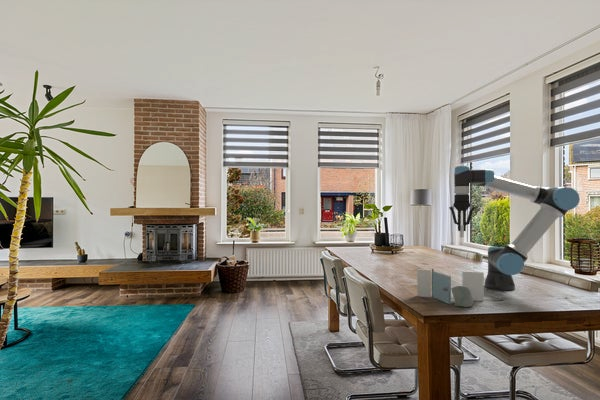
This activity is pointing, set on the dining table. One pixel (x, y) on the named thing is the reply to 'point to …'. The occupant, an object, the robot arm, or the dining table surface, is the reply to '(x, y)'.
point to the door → (442, 287)
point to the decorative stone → (462, 296)
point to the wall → (469, 280)
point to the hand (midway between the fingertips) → (461, 237)
